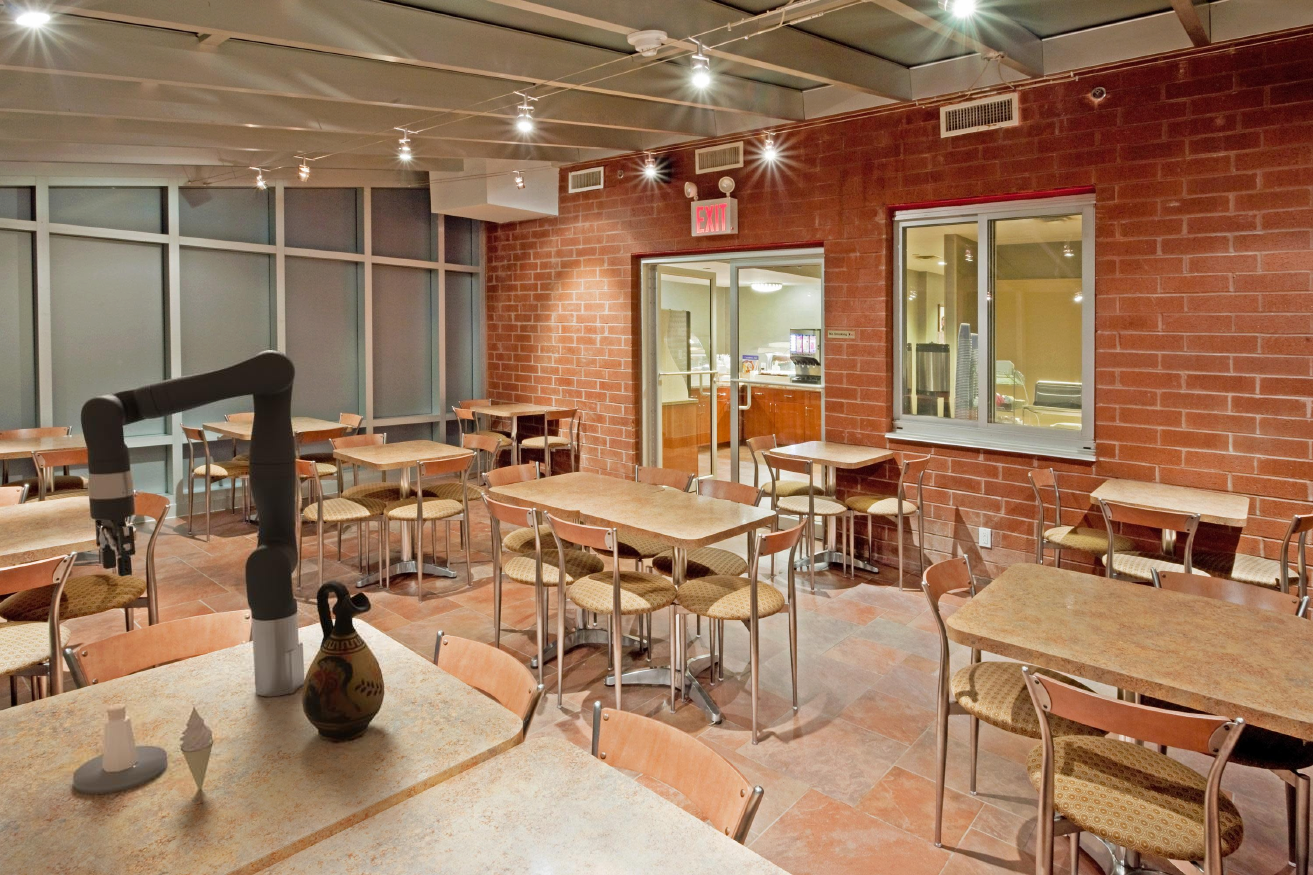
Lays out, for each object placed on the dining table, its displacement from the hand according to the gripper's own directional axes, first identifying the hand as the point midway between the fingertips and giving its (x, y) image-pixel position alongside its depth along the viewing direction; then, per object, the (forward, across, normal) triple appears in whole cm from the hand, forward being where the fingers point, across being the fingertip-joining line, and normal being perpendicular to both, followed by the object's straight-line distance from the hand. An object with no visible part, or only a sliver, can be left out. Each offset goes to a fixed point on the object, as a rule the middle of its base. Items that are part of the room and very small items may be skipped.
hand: (117, 571), depth 165 cm
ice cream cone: (+30, -43, +3) cm, 53 cm away
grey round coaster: (+30, -27, +10) cm, 41 cm away
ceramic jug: (+30, -42, -24) cm, 57 cm away
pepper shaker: (+29, -26, +10) cm, 40 cm away
